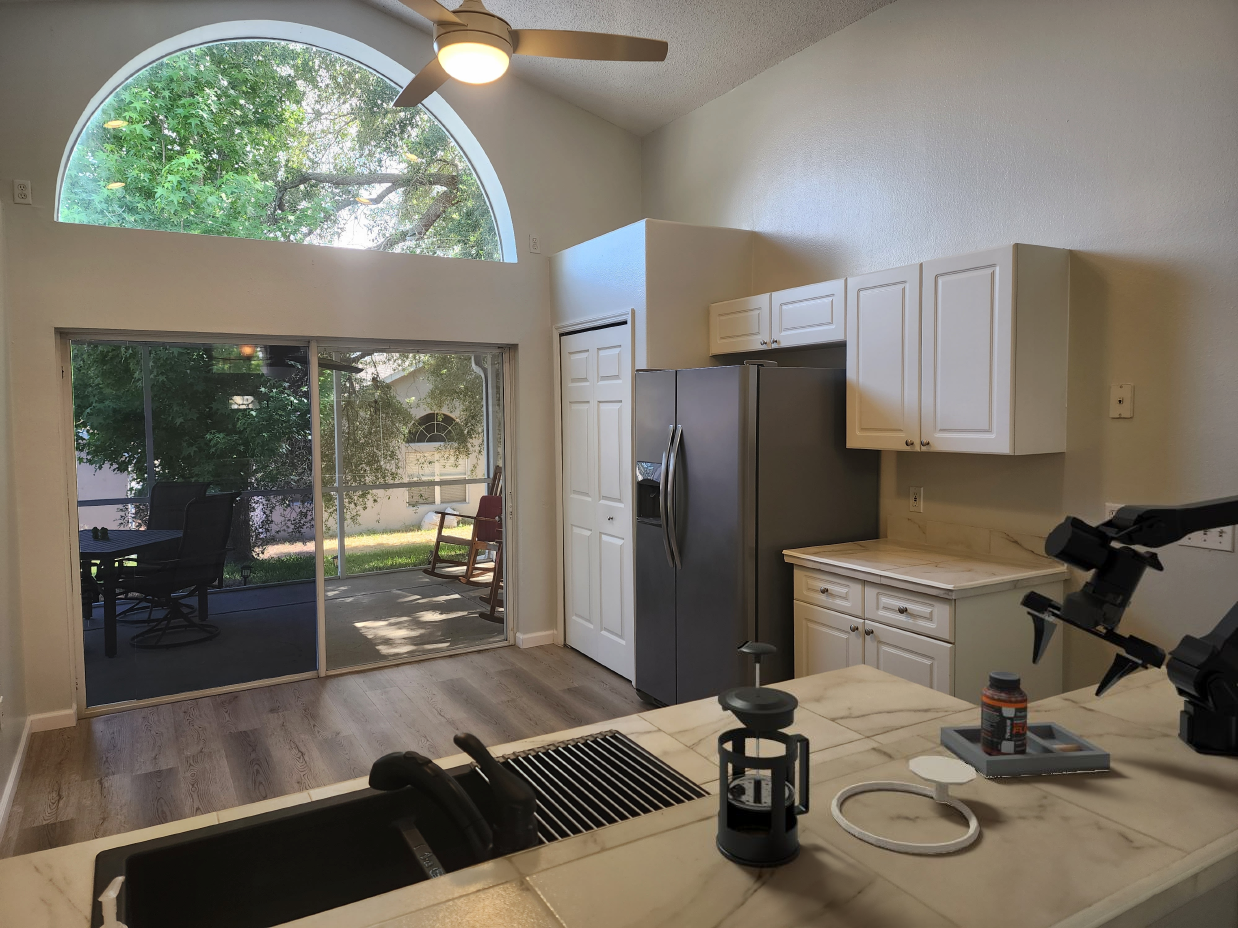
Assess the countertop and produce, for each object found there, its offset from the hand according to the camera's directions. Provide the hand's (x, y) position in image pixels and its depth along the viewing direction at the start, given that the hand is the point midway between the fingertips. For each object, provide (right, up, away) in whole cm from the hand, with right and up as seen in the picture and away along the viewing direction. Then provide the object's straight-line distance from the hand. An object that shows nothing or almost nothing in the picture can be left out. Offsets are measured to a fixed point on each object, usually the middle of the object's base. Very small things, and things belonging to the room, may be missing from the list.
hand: (1064, 679), depth 117 cm
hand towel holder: (-30, -11, -20) cm, 38 cm away
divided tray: (-8, -10, -4) cm, 14 cm away
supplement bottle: (-11, -9, -4) cm, 15 cm away
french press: (-50, -11, -27) cm, 58 cm away
